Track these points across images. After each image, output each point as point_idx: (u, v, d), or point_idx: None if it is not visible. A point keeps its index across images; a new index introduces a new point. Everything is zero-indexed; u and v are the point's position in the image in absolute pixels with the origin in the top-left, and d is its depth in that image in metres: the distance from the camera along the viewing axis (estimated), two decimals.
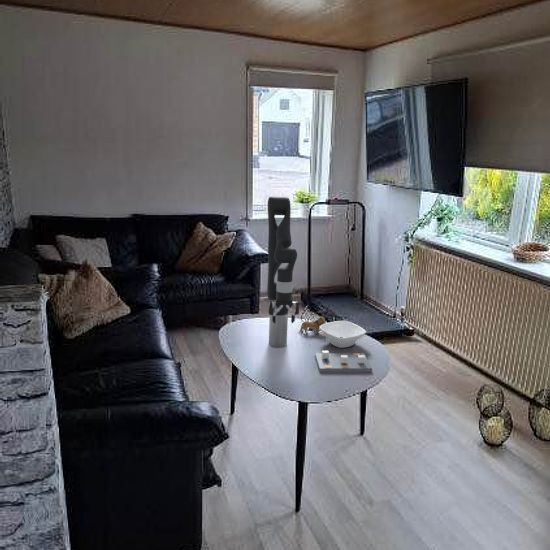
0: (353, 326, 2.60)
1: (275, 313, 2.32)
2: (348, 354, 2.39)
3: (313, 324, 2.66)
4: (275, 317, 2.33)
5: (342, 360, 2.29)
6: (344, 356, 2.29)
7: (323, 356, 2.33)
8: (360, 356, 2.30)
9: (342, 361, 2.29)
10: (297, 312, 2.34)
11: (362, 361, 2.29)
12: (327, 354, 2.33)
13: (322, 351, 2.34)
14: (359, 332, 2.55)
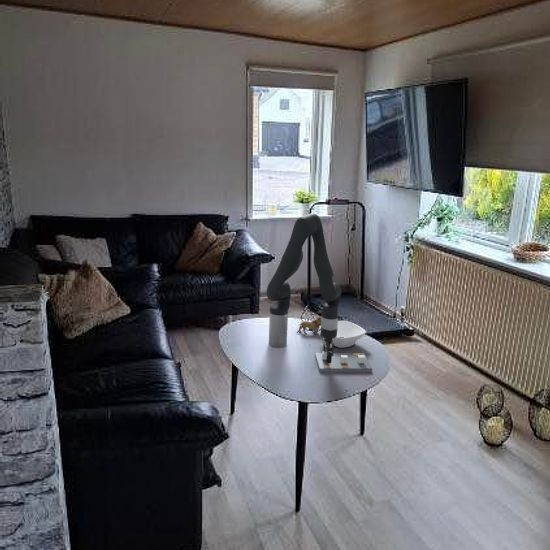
0: (353, 326, 2.60)
1: (331, 352, 2.25)
2: (348, 354, 2.39)
3: (312, 323, 2.66)
4: (331, 356, 2.26)
5: (342, 360, 2.29)
6: (344, 356, 2.29)
7: (323, 357, 2.32)
8: (360, 356, 2.30)
9: (342, 361, 2.29)
10: None
11: (362, 361, 2.29)
12: None
13: (322, 352, 2.33)
14: (359, 332, 2.55)
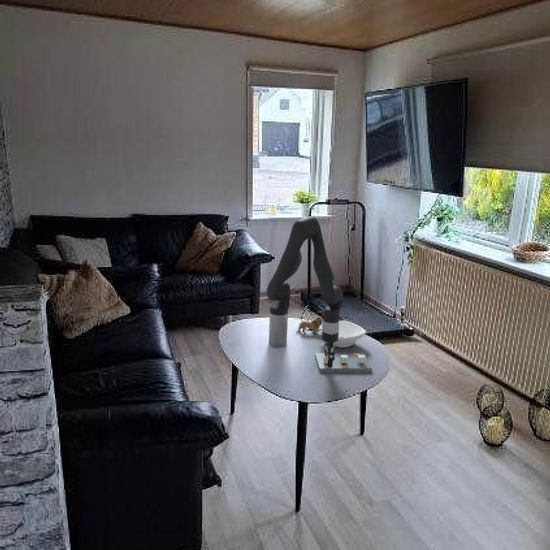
0: (353, 326, 2.60)
1: (333, 356, 2.21)
2: (348, 354, 2.39)
3: (311, 324, 2.66)
4: (332, 360, 2.22)
5: (342, 360, 2.29)
6: (344, 356, 2.29)
7: (325, 361, 2.28)
8: (360, 356, 2.30)
9: (342, 361, 2.29)
10: None
11: (362, 361, 2.29)
12: None
13: (324, 356, 2.28)
14: (359, 332, 2.55)
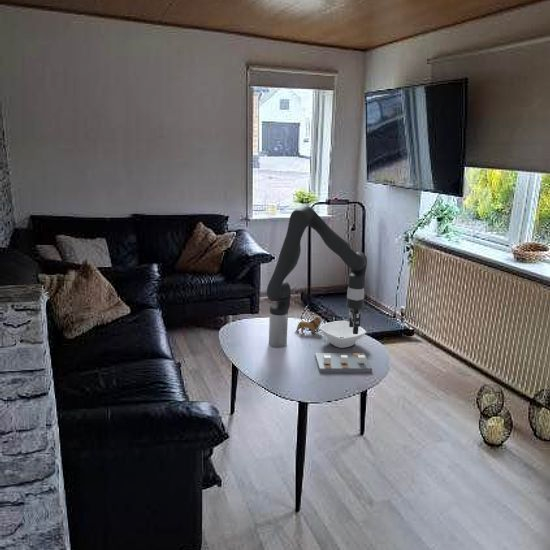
0: None
1: (358, 323, 2.21)
2: (348, 354, 2.39)
3: (310, 324, 2.65)
4: None
5: (342, 360, 2.29)
6: (344, 356, 2.29)
7: (325, 361, 2.28)
8: (360, 356, 2.30)
9: (342, 361, 2.29)
10: None
11: (362, 361, 2.29)
12: (329, 359, 2.28)
13: (324, 356, 2.28)
14: (359, 332, 2.55)
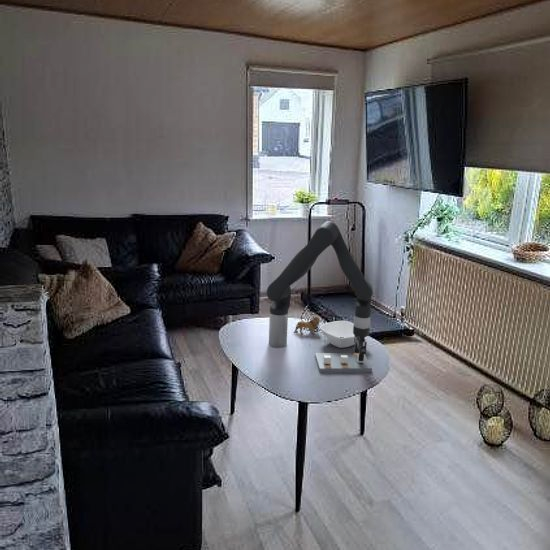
0: None
1: None
2: (348, 354, 2.39)
3: (308, 323, 2.65)
4: (363, 354, 2.29)
5: (342, 360, 2.29)
6: (344, 356, 2.29)
7: (325, 361, 2.28)
8: None
9: (342, 361, 2.29)
10: None
11: None
12: (329, 359, 2.28)
13: (324, 356, 2.28)
14: None
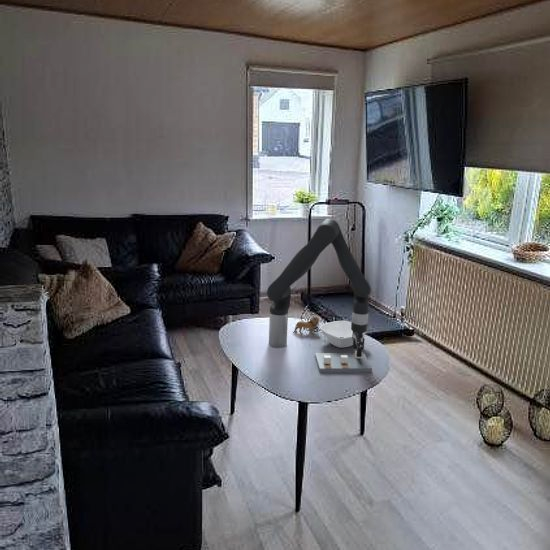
0: None
1: None
2: (348, 354, 2.39)
3: (308, 324, 2.65)
4: (361, 350, 2.33)
5: (342, 360, 2.29)
6: (344, 356, 2.29)
7: (325, 361, 2.28)
8: None
9: (342, 361, 2.29)
10: None
11: None
12: (329, 359, 2.28)
13: (324, 356, 2.28)
14: None
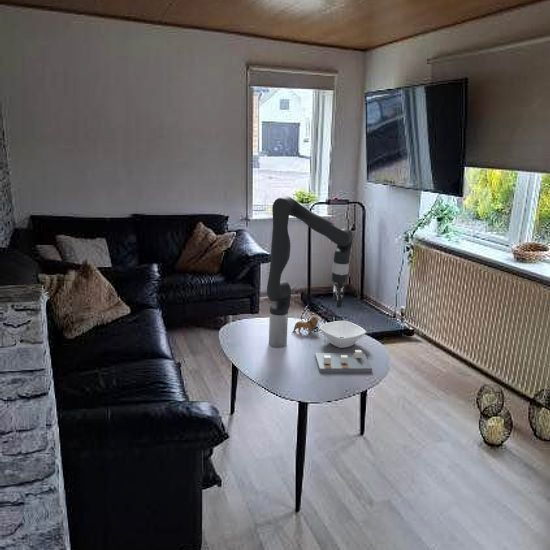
0: (353, 326, 2.60)
1: None
2: (348, 354, 2.39)
3: (307, 324, 2.65)
4: (341, 300, 2.31)
5: (342, 360, 2.29)
6: (344, 356, 2.29)
7: (325, 361, 2.28)
8: (357, 351, 2.35)
9: (342, 361, 2.29)
10: None
11: (359, 356, 2.35)
12: (329, 359, 2.28)
13: (324, 356, 2.28)
14: (359, 332, 2.55)
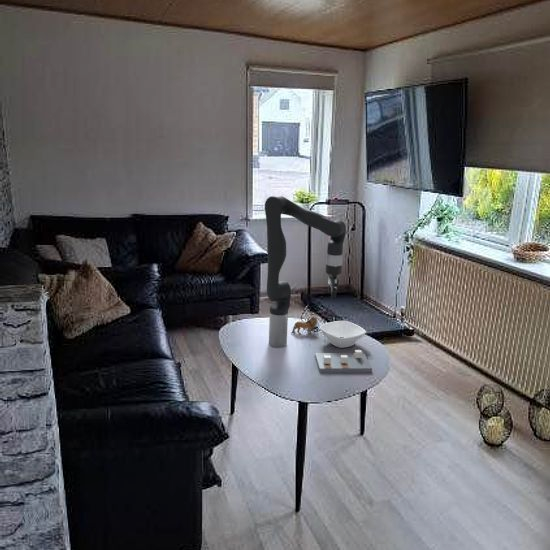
0: (353, 326, 2.60)
1: None
2: (348, 354, 2.39)
3: (306, 324, 2.65)
4: None
5: (342, 360, 2.29)
6: (344, 356, 2.29)
7: (325, 361, 2.28)
8: (357, 351, 2.35)
9: (342, 361, 2.29)
10: None
11: (359, 356, 2.35)
12: (329, 359, 2.28)
13: (324, 356, 2.28)
14: (359, 332, 2.55)
